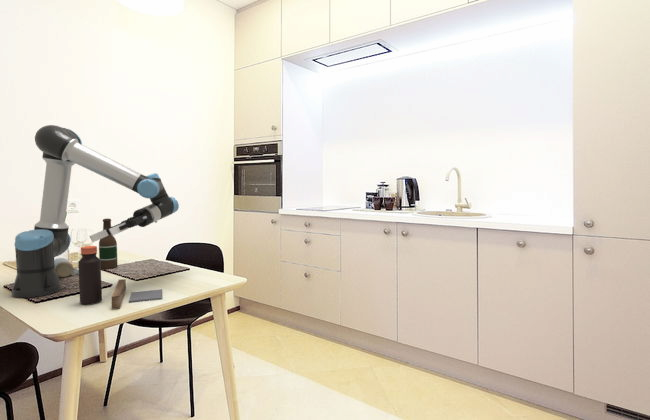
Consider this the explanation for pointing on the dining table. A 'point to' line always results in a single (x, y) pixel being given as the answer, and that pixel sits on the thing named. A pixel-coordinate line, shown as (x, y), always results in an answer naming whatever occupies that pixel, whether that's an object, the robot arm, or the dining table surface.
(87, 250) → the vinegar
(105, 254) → the beer bottle
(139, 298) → the pad
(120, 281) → the door rail
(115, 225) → the robot arm
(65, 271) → the ceramic mug
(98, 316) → the dining table surface
